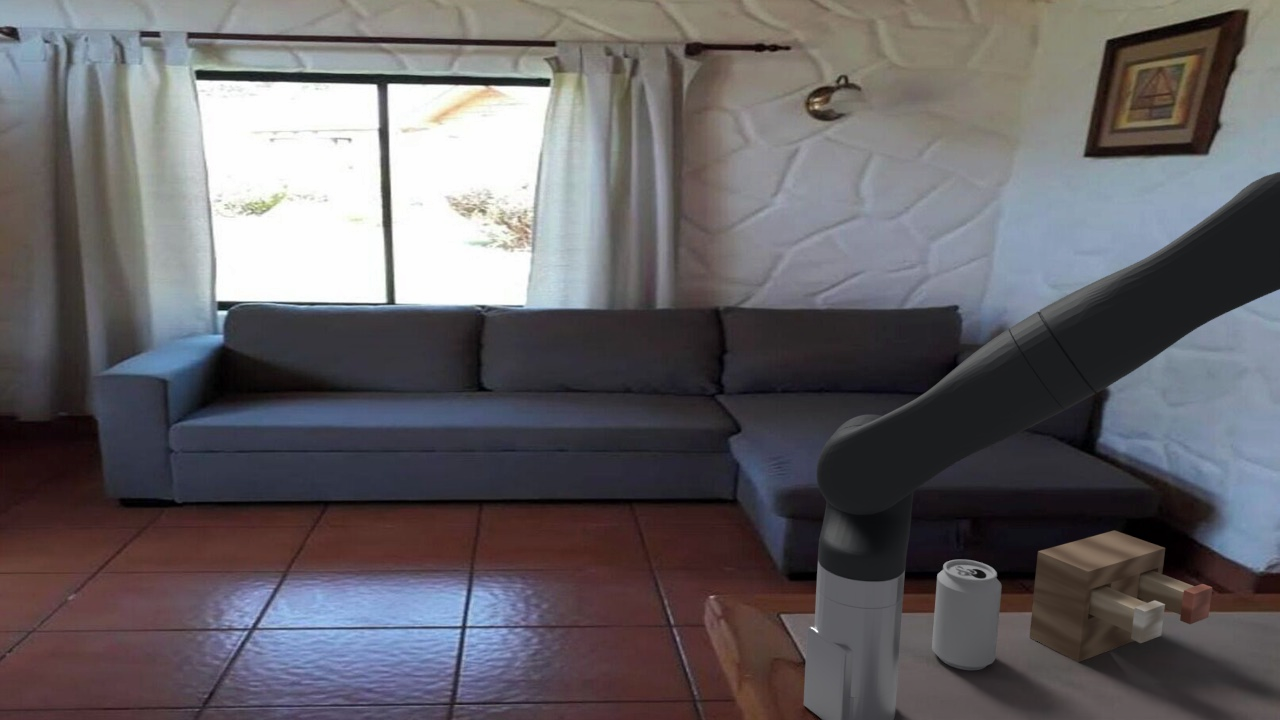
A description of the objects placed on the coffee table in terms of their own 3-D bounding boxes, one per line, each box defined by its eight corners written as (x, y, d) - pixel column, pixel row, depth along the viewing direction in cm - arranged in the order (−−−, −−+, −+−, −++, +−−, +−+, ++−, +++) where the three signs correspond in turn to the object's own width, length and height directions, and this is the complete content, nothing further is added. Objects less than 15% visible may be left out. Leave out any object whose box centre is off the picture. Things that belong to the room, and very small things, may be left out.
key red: (1189, 624, 106) (1194, 594, 105) (1118, 594, 114) (1121, 566, 113) (1208, 617, 108) (1212, 587, 107) (1136, 588, 116) (1139, 560, 115)
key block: (1078, 662, 108) (1088, 571, 106) (1029, 637, 114) (1037, 551, 112) (1154, 633, 115) (1165, 548, 113) (1105, 611, 121) (1114, 530, 119)
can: (1000, 677, 104) (1008, 583, 102) (935, 669, 106) (942, 577, 103) (988, 646, 111) (996, 558, 109) (927, 640, 113) (934, 553, 111)
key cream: (1140, 643, 101) (1144, 611, 101) (1069, 611, 109) (1072, 581, 109) (1161, 635, 103) (1165, 604, 103) (1089, 604, 111) (1092, 575, 111)
